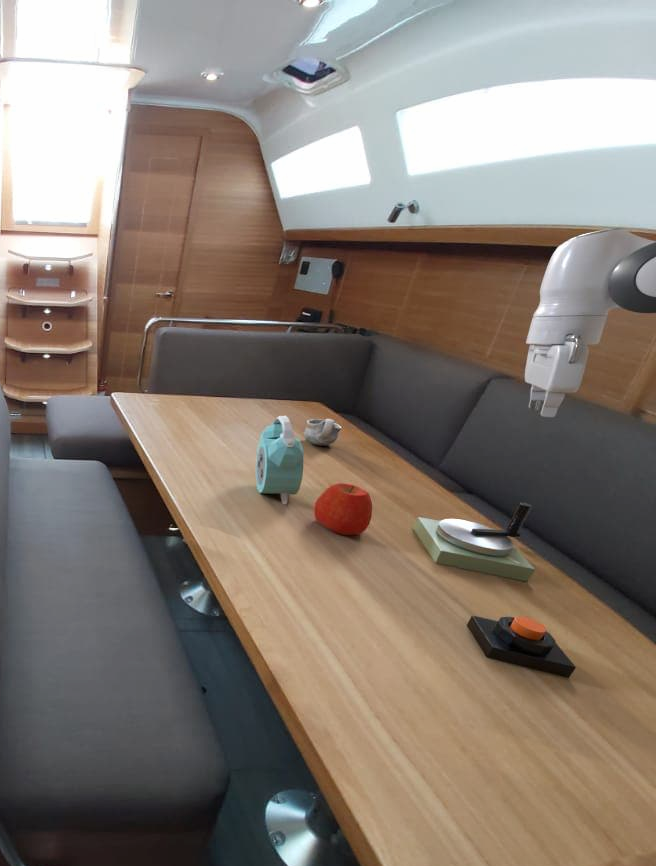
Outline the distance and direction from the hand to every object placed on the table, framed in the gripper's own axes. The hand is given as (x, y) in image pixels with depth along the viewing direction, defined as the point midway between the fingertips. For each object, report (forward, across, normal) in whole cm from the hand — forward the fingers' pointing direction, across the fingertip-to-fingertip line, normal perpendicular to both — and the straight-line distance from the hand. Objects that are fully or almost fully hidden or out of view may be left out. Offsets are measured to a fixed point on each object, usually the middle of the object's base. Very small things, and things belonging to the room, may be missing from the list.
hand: (540, 413), depth 91 cm
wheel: (+27, +4, +3) cm, 28 cm away
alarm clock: (+25, +7, +43) cm, 50 cm away
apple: (+28, -2, +28) cm, 39 cm away
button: (+31, -28, 0) cm, 42 cm away
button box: (+34, -28, 0) cm, 44 cm away
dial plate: (+30, +4, +4) cm, 31 cm away
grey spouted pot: (+21, +54, +38) cm, 69 cm away
